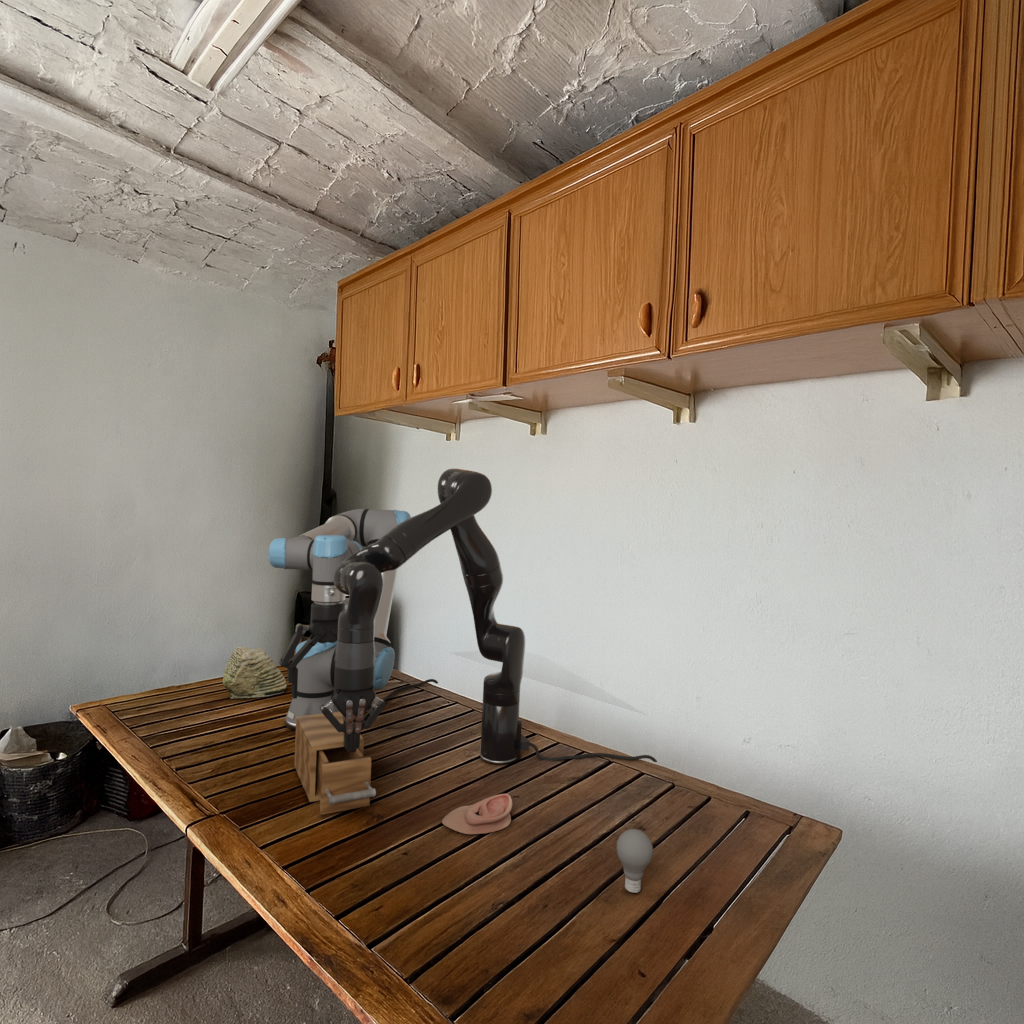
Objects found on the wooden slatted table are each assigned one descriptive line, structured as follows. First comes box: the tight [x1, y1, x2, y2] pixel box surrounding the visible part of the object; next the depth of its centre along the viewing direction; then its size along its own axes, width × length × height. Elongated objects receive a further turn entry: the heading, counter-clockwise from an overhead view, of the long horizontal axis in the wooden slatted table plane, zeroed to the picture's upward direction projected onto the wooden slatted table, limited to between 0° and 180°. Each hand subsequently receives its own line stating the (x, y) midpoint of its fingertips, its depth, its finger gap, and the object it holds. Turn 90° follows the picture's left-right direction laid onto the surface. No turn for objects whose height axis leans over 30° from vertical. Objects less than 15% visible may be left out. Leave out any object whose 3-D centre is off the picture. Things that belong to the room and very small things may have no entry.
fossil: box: [222, 646, 288, 699], centre depth 198 cm, size 9×18×15 cm, turn 132°
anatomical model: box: [441, 793, 513, 835], centre depth 126 cm, size 13×4×12 cm
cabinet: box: [293, 712, 365, 803], centre depth 142 cm, size 19×11×12 cm, turn 28°
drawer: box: [315, 747, 377, 816], centre depth 132 cm, size 23×10×10 cm, turn 28°
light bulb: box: [615, 828, 654, 894], centre depth 106 cm, size 6×6×10 cm
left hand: (324, 693), depth 146 cm, fingers open, 13 cm apart
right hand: (351, 750), depth 124 cm, fingers closed
